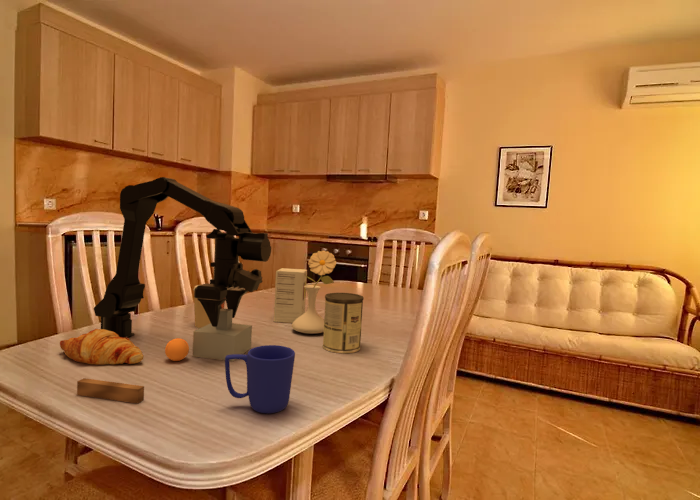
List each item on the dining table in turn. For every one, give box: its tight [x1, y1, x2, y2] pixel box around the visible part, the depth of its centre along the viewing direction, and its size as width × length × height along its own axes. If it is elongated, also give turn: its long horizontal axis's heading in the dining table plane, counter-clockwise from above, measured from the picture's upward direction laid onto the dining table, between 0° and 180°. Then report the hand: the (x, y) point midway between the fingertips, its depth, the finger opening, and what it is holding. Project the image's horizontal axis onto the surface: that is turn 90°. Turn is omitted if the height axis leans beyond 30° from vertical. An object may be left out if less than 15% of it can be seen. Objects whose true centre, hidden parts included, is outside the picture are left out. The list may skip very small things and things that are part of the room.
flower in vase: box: [291, 250, 337, 335], centre depth 122 cm, size 13×11×25 cm
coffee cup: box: [193, 284, 226, 329], centre depth 123 cm, size 9×9×12 cm
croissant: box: [59, 328, 145, 366], centre depth 91 cm, size 21×10×8 cm, turn 79°
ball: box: [164, 337, 190, 362], centre depth 92 cm, size 5×5×5 cm
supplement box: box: [273, 267, 308, 324], centre depth 136 cm, size 10×9×17 cm
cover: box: [192, 308, 253, 362], centre depth 100 cm, size 10×10×10 cm
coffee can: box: [322, 292, 364, 354], centre depth 109 cm, size 10×10×14 cm
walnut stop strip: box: [76, 377, 145, 404], centre depth 72 cm, size 12×2×2 cm, turn 81°
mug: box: [224, 344, 296, 414], centre depth 72 cm, size 8×12×10 cm
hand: (223, 321), depth 99 cm, fingers open, 9 cm apart
